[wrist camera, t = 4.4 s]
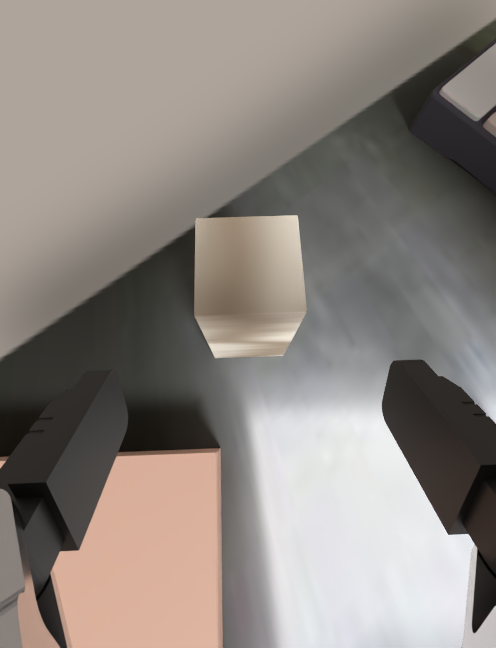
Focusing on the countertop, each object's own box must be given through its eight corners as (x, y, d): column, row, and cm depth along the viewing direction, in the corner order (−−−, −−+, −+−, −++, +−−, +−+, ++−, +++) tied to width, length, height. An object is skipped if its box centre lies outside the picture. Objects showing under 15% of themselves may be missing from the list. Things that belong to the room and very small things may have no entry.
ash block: (278, 292, 23) (297, 215, 14) (283, 355, 22) (306, 311, 13) (214, 294, 23) (195, 218, 14) (215, 357, 22) (194, 315, 13)
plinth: (220, 448, 20) (216, 452, 17) (224, 807, 15) (219, 897, 12) (-40, 458, 20) (-89, 464, 17) (-118, 826, 15) (-204, 922, 12)
